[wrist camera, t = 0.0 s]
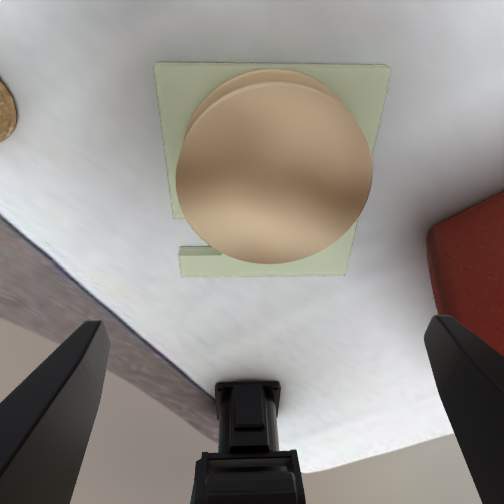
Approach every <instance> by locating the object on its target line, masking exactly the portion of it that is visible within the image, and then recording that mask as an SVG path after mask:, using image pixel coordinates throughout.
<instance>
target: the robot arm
mask: <svg viewBox="0 0 504 504" xmlns="http://www.w3.org/2000/svg"><path fill="white" fill-rule="evenodd" d="M424 342H425V346H426V350H427V353H428V357H429V361H430V364H431V368H432V371H433V375H434V379H435V382H436V386H437V389H438V392H439V395H440V398H441V401H442V403H443V406H444V408H445V411H446V413H447V416H448V418H449V421H450V423H451V426H452V428H453V431H454V433H455V436H456V438H457V441H458V443H459V446H460V448H461V451H462V453H463V456H464V458H465V461H466V463H467V466H468V468H469V471H470V473H471V476H472V478H473V481H474V483H475V486H476V488H477V491H478V493H479V496H480V498H481V501H482V503H483V504H504V356H503V355H501V354H500V353H499V352H497V351H496V350H495V349H494V348H492V347H491V346H490V345H488V344H487V343H486V342H484V341H483V340H482V339H481V338H479V337H478V336H477V335H475V334H474V333H473V332H471V331H470V330H469V329H467V328H466V327H465V326H464V325H462V324H461V323H460V322H458V321H457V320H456V319H454V318H453V317H452V316H450V315H435V316H433V317H432V319H431V321H430V323H429V325H428V327H427V330H426V332H425V335H424ZM109 350H110V339H109V336H108V333H107V330H106V327H105V324H104V322H103V321H102V320H87V321H85V322H84V323H83V324H82V325H81V326H80V327H79V328H78V329H77V330H76V331H75V332H73V333H72V334H71V335H70V336H69V337H68V338H67V339H66V340H65V341H64V342H63V343H62V344H61V345H60V346H59V347H58V348H57V349H56V350H55V351H54V352H53V353H52V354H51V355H50V356H49V357H48V358H47V359H46V360H44V361H43V363H42V364H40V365H39V366H38V367H37V368H36V369H35V370H34V371H33V372H32V373H31V374H30V375H29V376H28V377H27V378H26V379H25V380H24V381H23V382H22V383H21V384H20V385H19V386H17V387H16V389H14V390H13V391H12V392H11V393H10V394H9V395H8V396H7V397H6V398H5V399H4V400H3V401H2V402H1V403H0V504H70V501H71V497H72V494H73V491H74V487H75V484H76V481H77V477H78V474H79V471H80V467H81V464H82V461H83V457H84V454H85V451H86V447H87V444H88V441H89V437H90V434H91V431H92V427H93V424H94V421H95V417H96V414H97V411H98V407H99V403H100V399H101V394H102V388H103V382H104V378H105V372H106V366H107V361H108V355H109ZM280 389H281V388H280V383H278V382H257V383H218V384H216V385H215V398H216V411H217V419H218V420H219V446H218V448H219V449H218V453H208V452H202V458H201V459H200V460H198V461H196V466H195V478H194V485H193V491H192V496H191V502H190V504H306V502H305V494H304V488H303V483H302V477H301V472H300V466H299V461H298V456H297V450H290V451H279V442H278V430H277V419H276V418H277V416H278V407H279V398H280Z"/></svg>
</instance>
